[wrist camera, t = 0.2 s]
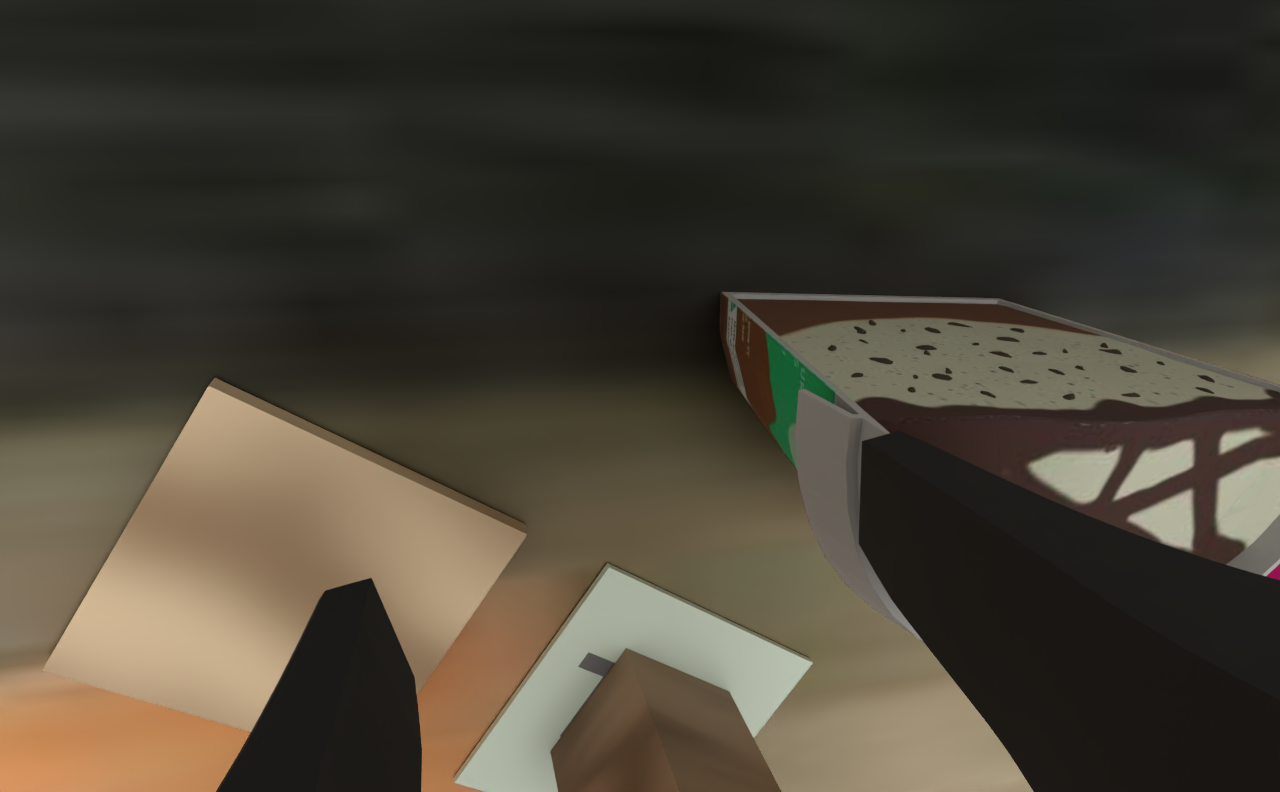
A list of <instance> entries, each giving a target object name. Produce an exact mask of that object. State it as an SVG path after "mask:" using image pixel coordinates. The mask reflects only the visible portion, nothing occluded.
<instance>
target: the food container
mask: <svg viewBox="0 0 1280 792" xmlns="http://www.w3.org/2000/svg"><path fill="white" fill-rule="evenodd" d="M719 332H720V336H721V340H722V344H723V348H724V352H725V356H726V360H727V364H728V368H729V372H730V376H731V379H732V381H733V382H734V384H735V385H736V387H737V388H738V390H739V391H740V393H741V394H742V396H743V397H744V399H745V400H746V402H747V403H748V405H749V406H750V408H751V409H752V411H753V412H754V414H755V415H756V417H757V418H758V419H759V421H760V422H761V423H762V424H763V426H764V427H765V428H766V430H767V431H768V432H769V434H770V435H771V436H772V438H773V439H774V440H775V441H776V443H777V444H778V445H779V447H780V448H781V449H782V451H783V452H784V453H785V455H786V456H787V457H788V458H789V460H790V461H791V462H792V464H793V465H794V466H795V468H796V469H797V470H798V482H799V486H800V490H801V494H802V497H803V501H804V505H805V509H806V513H807V517H808V521H809V524H810V526H811V528H812V530H813V532H814V534H815V536H816V538H817V541H818V543H819V545H820V547H821V549H822V551H823V553H824V556H825V557H826V559H827V560H828V561H829V563H830V564H831V565H832V567H833V568H834V569H835V571H836V572H837V573H838V575H839V576H840V577H841V579H842V580H843V581H844V583H845V584H846V585H847V586H848V587H849V588H850V589H851V590H852V591H854V592H855V593H856V594H857V595H858V596H859V597H860V598H862V599H863V600H864V601H865V602H866V603H867V604H868V605H870V606H871V607H872V608H873V609H875V610H876V611H878V612H879V613H881V614H882V615H884V616H885V617H887V618H888V619H890V620H891V621H893V622H894V623H896V624H897V625H899V626H900V627H902V628H903V629H905V630H906V631H908V632H909V633H911V634H912V635H914V636H915V637H917V638H918V639H920V640H922V639H921V638H920V636H919V635H918V634H917V632H916V631H915V630H914V629H913V627H912V626H911V625H910V623H909V622H908V621H907V620H906V618H905V617H904V616H903V614H902V613H901V612H900V610H899V609H898V608H897V606H896V605H895V604H894V602H893V601H892V600H891V598H890V596H889V595H888V593H887V591H886V590H885V588H884V586H883V585H882V583H881V582H880V580H879V578H878V577H877V575H876V573H875V572H874V570H873V568H872V566H871V565H870V563H869V561H868V559H867V557H866V556H865V554H864V552H863V550H862V549H861V547H860V545H859V514H860V484H861V453H862V441H864V440H868V439H871V438H875V437H878V436H882V435H886V434H889V433H893V432H896V431H901V432H903V433H906V434H908V435H910V436H913V437H915V438H917V439H920V440H922V441H924V442H926V443H928V444H931V445H933V446H935V447H937V448H939V449H941V450H943V451H946V452H948V453H950V454H952V455H954V456H956V457H958V458H960V459H963V460H965V461H967V462H969V463H971V464H973V465H975V466H977V467H980V468H982V469H984V470H986V471H988V472H990V473H992V474H994V475H997V476H999V477H1001V478H1003V479H1005V480H1007V481H1009V482H1012V483H1014V484H1016V485H1018V486H1020V487H1023V488H1025V489H1027V490H1029V491H1032V492H1034V493H1036V494H1038V495H1041V496H1043V497H1045V498H1047V499H1050V500H1052V501H1054V502H1057V503H1059V504H1061V505H1064V506H1066V507H1068V508H1071V509H1073V510H1075V511H1078V512H1080V513H1083V514H1085V515H1088V516H1090V517H1093V518H1095V519H1098V520H1100V521H1103V522H1105V523H1108V524H1110V525H1113V526H1115V527H1118V528H1120V529H1123V530H1125V531H1128V532H1131V533H1133V534H1136V535H1139V536H1142V537H1144V538H1147V539H1150V540H1153V541H1155V542H1158V543H1161V544H1164V545H1167V546H1170V547H1173V548H1176V549H1179V550H1182V551H1185V552H1188V553H1191V554H1194V555H1197V556H1200V557H1203V558H1206V559H1209V560H1212V561H1215V562H1219V563H1222V564H1225V565H1229V566H1232V567H1235V568H1239V569H1242V570H1245V571H1249V572H1252V573H1255V574H1259V575H1263V576H1267V575H1268V574H1269V573H1270V572H1271V571H1272V570H1273V569H1274V568H1276V567H1277V566H1278V565H1279V564H1280V385H1278V384H1275V383H1271V382H1268V381H1265V380H1262V379H1258V378H1255V377H1252V376H1249V375H1246V374H1242V373H1239V372H1236V371H1233V370H1229V369H1226V368H1223V367H1220V366H1216V365H1213V364H1210V363H1207V362H1203V361H1200V360H1197V359H1194V358H1191V357H1187V356H1184V355H1181V354H1178V353H1174V352H1171V351H1168V350H1165V349H1161V348H1158V347H1155V346H1152V345H1148V344H1145V343H1142V342H1139V341H1135V340H1132V339H1129V338H1126V337H1123V336H1119V335H1116V334H1113V333H1110V332H1106V331H1103V330H1100V329H1097V328H1093V327H1090V326H1087V325H1084V324H1080V323H1077V322H1074V321H1071V320H1068V319H1064V318H1061V317H1058V316H1055V315H1051V314H1048V313H1045V312H1042V311H1038V310H1035V309H1032V308H1029V307H1025V306H1022V305H1019V304H1016V303H1013V302H1009V301H1006V300H1003V299H1000V298H963V297H920V296H877V295H834V294H791V293H748V292H721V303H720V331H719ZM922 641H923V640H922Z"/></svg>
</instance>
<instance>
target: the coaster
mask: <svg viewBox="0 0 1280 792" xmlns="http://www.w3.org/2000/svg"><path fill="white" fill-rule="evenodd" d="M527 535H528V534H527V530H526V525H525V524H524V523H522V522H520V521H518V520H516V519H513V518H511V517H509V516H507V515H505V514H503V513H501V512H499V511H496V510H494V509H492V508H490V507H488V506H486V505H484V504H482V503H479V502H477V501H475V500H473V499H471V498H469V497H467V496H465V495H463V494H460V493H458V492H456V491H454V490H452V489H450V488H448V487H446V486H443V485H441V484H439V483H437V482H435V481H433V480H431V479H429V478H427V477H424V476H422V475H420V474H418V473H416V472H414V471H412V470H410V469H407V468H405V467H403V466H401V465H399V464H397V463H395V462H393V461H391V460H388V459H386V458H384V457H382V456H380V455H378V454H376V453H374V452H371V451H369V450H367V449H365V448H363V447H361V446H359V445H357V444H355V443H352V442H350V441H348V440H346V439H344V438H342V437H340V436H338V435H335V434H333V433H331V432H329V431H327V430H325V429H323V428H321V427H318V426H316V425H314V424H312V423H310V422H308V421H306V420H304V419H302V418H299V417H297V416H295V415H293V414H291V413H289V412H287V411H285V410H282V409H280V408H278V407H276V406H274V405H272V404H270V403H268V402H266V401H263V400H261V399H259V398H257V397H255V396H253V395H251V394H249V393H246V392H244V391H242V390H240V389H238V388H236V387H234V386H232V385H230V384H227V383H225V382H223V381H221V380H219V379H217V378H214V379H213V380H212V382H211V383H210V385H209V386H208V388H207V389H206V391H205V393H204V394H203V396H202V398H201V400H200V401H199V403H198V405H197V406H196V408H195V410H194V412H193V413H192V415H191V417H190V418H189V420H188V422H187V424H186V425H185V427H184V429H183V430H182V432H181V434H180V435H179V437H178V439H177V441H176V442H175V444H174V446H173V447H172V449H171V451H170V453H169V454H168V456H167V458H166V459H165V461H164V463H163V465H162V466H161V468H160V470H159V471H158V473H157V475H156V477H155V478H154V480H153V482H152V483H151V485H150V487H149V488H148V490H147V492H146V494H145V495H144V497H143V499H142V500H141V502H140V504H139V506H138V507H137V509H136V511H135V512H134V514H133V516H132V518H131V519H130V521H129V523H128V524H127V526H126V528H125V530H124V531H123V533H122V535H121V536H120V538H119V540H118V541H117V543H116V545H115V547H114V548H113V550H112V552H111V553H110V555H109V557H108V559H107V560H106V562H105V564H104V565H103V567H102V569H101V571H100V572H99V574H98V576H97V577H96V579H95V581H94V583H93V584H92V586H91V588H90V589H89V591H88V593H87V595H86V596H85V598H84V600H83V601H82V603H81V605H80V606H79V608H78V610H77V612H76V613H75V615H74V617H73V618H72V620H71V622H70V624H69V625H68V627H67V629H66V630H65V632H64V634H63V636H62V637H61V639H60V641H59V642H58V644H57V646H56V648H55V649H54V651H53V653H52V654H51V656H50V658H49V659H48V661H47V663H46V665H45V666H44V668H43V670H42V672H46V673H49V674H53V675H56V676H60V677H63V678H66V679H70V680H73V681H77V682H80V683H84V684H87V685H90V686H94V687H97V688H101V689H104V690H108V691H111V692H114V693H118V694H121V695H125V696H128V697H132V698H135V699H139V700H142V701H145V702H149V703H152V704H156V705H159V706H163V707H166V708H169V709H173V710H176V711H180V712H183V713H187V714H190V715H193V716H197V717H200V718H204V719H207V720H211V721H214V722H218V723H221V724H224V725H228V726H231V727H235V728H238V729H242V730H245V731H248V732H251V731H252V729H253V728H254V726H255V724H256V722H257V720H258V718H259V717H260V715H261V713H262V711H263V709H264V707H265V705H266V704H267V702H268V700H269V698H270V696H271V694H272V692H273V691H274V689H275V687H276V685H277V683H278V681H279V679H280V677H281V675H282V673H283V671H284V669H285V667H286V666H287V664H288V662H289V660H290V658H291V656H292V654H293V652H294V650H295V648H296V646H297V644H298V642H299V640H300V638H301V636H302V634H303V631H304V629H305V627H306V625H307V623H308V621H309V619H310V617H311V615H312V613H313V611H314V609H315V607H316V605H317V603H318V601H319V599H320V597H321V596H322V594H323V593H324V591H325V590H329V589H332V588H336V587H339V586H343V585H347V584H350V583H354V582H357V581H361V580H365V579H368V578H372V580H373V582H374V584H375V587H376V589H377V591H378V594H379V596H380V598H381V601H382V603H383V605H384V608H385V610H386V612H387V615H388V617H389V619H390V621H391V624H392V626H393V628H394V631H395V633H396V635H397V638H398V640H399V642H400V645H401V647H402V649H403V651H404V654H405V656H406V658H407V661H408V663H409V665H410V668H411V670H412V672H413V675H414V677H415V685H416V694H418V693H419V691H420V690H421V689H422V687H423V686H424V684H425V683H426V681H427V680H428V678H429V677H430V676H431V674H432V673H433V671H434V670H435V668H436V667H437V665H438V664H439V662H440V661H441V660H442V658H443V657H444V655H445V654H446V652H447V651H448V649H449V648H450V647H451V645H452V644H453V642H454V641H455V639H456V638H457V636H458V635H459V633H460V632H461V631H462V629H463V628H464V626H465V625H466V623H467V622H468V620H469V619H470V618H471V616H472V615H473V613H474V612H475V610H476V609H477V607H478V606H479V604H480V603H481V602H482V600H483V599H484V597H485V596H486V594H487V593H488V591H489V590H490V589H491V587H492V586H493V584H494V583H495V581H496V580H497V578H498V577H499V575H500V574H501V573H502V571H503V570H504V568H505V567H506V565H507V564H508V562H509V561H510V560H511V558H512V557H513V555H514V554H515V552H516V551H517V549H518V548H519V546H520V545H521V544H522V542H523V541H524V539H525V538H526V536H527Z"/></svg>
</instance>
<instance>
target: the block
mask: <svg viewBox="0 0 1280 792" xmlns="http://www.w3.org/2000/svg"><path fill="white" fill-rule="evenodd" d="M550 753H551V758H552V763H553V768H554V773H555V778H556V783H557V788H558V792H781V790H780V788H779V786H778V784H777V783H776V781H775V779H774V777H773V775H772V773H771V771H770V769H769V767H768V765H767V763H766V761H765V759H764V757H763V756H762V754H761V752H760V750H759V748H758V746H757V744H756V742H755V740H754V738H753V736H752V734H751V732H750V730H749V729H748V727H747V725H746V723H745V721H744V719H743V717H742V715H741V713H740V711H739V709H738V707H737V705H736V703H735V702H734V700H733V698H732V696H731V694H730V692H729V691H727V690H725V689H722V688H720V687H717V686H715V685H713V684H710V683H708V682H706V681H703V680H701V679H698V678H696V677H694V676H691V675H689V674H687V673H684V672H682V671H679V670H677V669H675V668H672V667H670V666H668V665H665V664H663V663H660V662H658V661H656V660H653V659H651V658H649V657H646V656H644V655H641V654H639V653H637V652H634V651H632V650H630V649H627V648H626V649H625V651H624V652H623V653H622V655H621V656H620V657H619V659H618V660H617V661H616V663H615V664H614V665H613V667H612V668H611V670H610V671H609V672H608V674H607V675H606V676H605V678H604V679H603V680H602V682H601V683H600V684H599V686H598V687H597V689H596V690H595V691H594V693H593V694H592V695H591V697H590V698H589V699H588V701H587V702H586V703H585V705H584V706H583V708H582V709H581V710H580V712H579V713H578V714H577V716H576V717H575V718H574V720H573V721H572V722H571V724H570V725H569V727H568V728H567V729H566V731H565V732H564V733H563V735H562V736H561V737H560V739H559V740H558V741H557V743H556V744H555V746H554V747H553V748H552V750H551V751H550Z"/></svg>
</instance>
